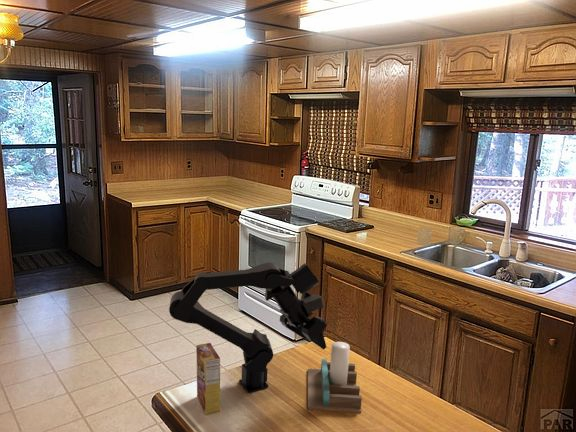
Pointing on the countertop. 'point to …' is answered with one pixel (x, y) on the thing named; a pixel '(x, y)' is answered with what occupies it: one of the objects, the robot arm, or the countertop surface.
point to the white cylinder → (339, 363)
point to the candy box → (208, 378)
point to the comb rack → (333, 391)
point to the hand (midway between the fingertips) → (316, 344)
